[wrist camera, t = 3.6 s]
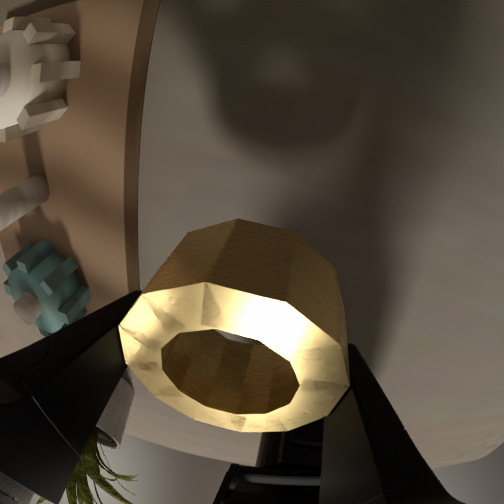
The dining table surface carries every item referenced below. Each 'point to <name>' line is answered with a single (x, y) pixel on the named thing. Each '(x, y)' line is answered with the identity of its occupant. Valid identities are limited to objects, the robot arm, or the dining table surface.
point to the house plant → (108, 436)
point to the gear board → (72, 155)
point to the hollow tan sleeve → (241, 330)
